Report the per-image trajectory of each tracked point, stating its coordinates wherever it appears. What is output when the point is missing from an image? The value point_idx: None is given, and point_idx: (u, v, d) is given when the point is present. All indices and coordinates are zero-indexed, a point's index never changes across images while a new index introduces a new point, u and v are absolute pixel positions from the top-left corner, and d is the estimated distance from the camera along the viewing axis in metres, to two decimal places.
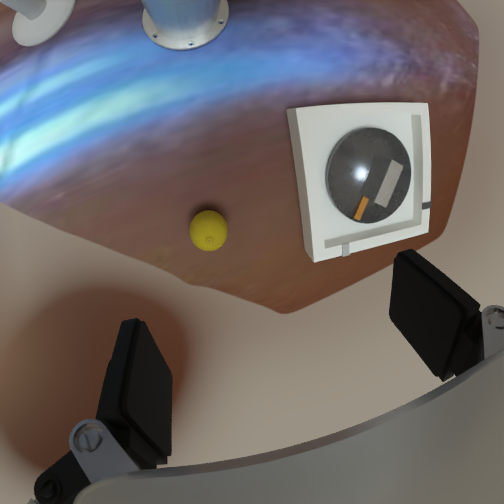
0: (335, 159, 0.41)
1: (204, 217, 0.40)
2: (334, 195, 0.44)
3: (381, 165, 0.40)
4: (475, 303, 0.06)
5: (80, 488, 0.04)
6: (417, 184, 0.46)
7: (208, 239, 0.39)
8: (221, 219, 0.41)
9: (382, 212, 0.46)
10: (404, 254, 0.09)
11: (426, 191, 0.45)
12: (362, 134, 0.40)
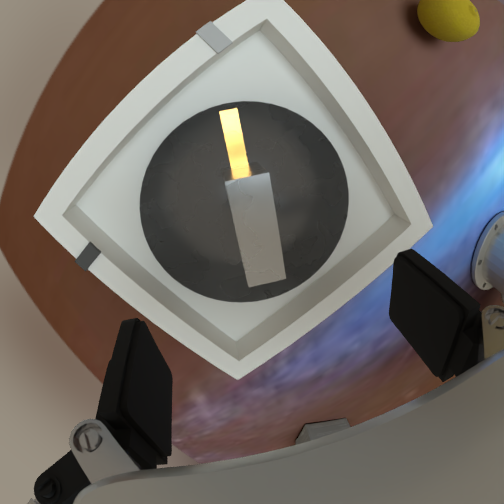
0: (343, 190, 0.22)
1: (471, 36, 0.15)
2: (309, 128, 0.20)
3: None
4: (475, 303, 0.06)
5: (80, 488, 0.04)
6: (133, 268, 0.23)
7: (477, 12, 0.12)
8: (452, 34, 0.15)
9: (170, 163, 0.19)
10: (404, 254, 0.09)
11: (113, 277, 0.21)
12: (318, 259, 0.24)
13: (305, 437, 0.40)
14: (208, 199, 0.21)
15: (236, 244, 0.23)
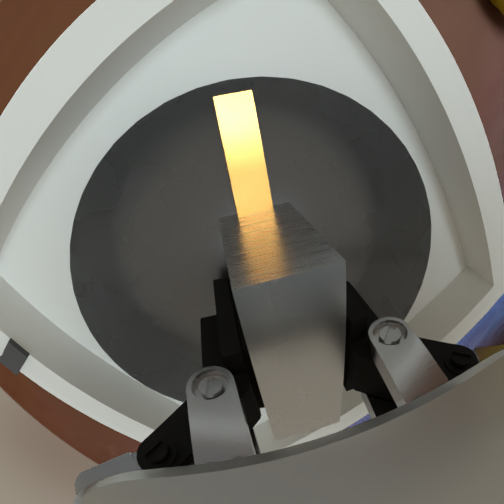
0: (424, 246, 0.12)
1: None
2: (386, 138, 0.10)
3: None
4: (362, 313, 0.07)
5: None
6: (85, 366, 0.13)
7: None
8: None
9: (115, 208, 0.09)
10: None
11: (56, 385, 0.11)
12: None
13: None
14: (195, 276, 0.11)
15: None
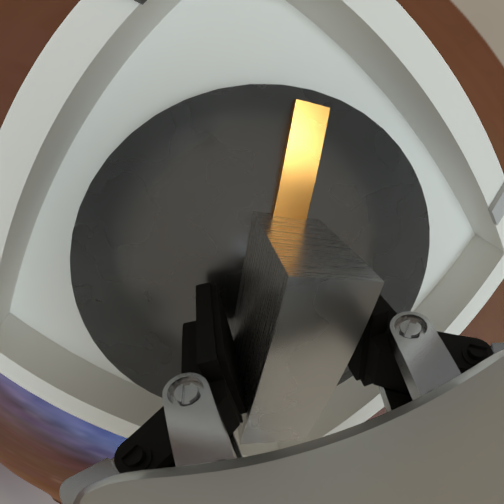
0: (410, 299, 0.13)
1: None
2: (415, 194, 0.11)
3: None
4: (383, 308, 0.07)
5: None
6: (94, 86, 0.08)
7: None
8: None
9: (157, 163, 0.09)
10: None
11: (76, 43, 0.06)
12: None
13: None
14: (207, 259, 0.11)
15: None
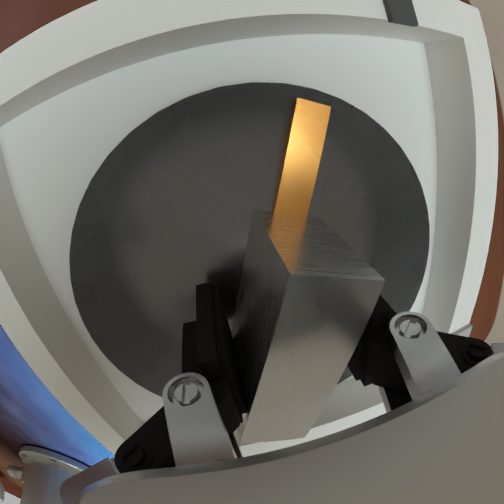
0: (410, 299, 0.13)
1: None
2: (415, 193, 0.11)
3: None
4: (383, 308, 0.07)
5: None
6: (293, 27, 0.08)
7: None
8: None
9: (157, 161, 0.09)
10: None
11: None
12: None
13: None
14: (207, 258, 0.11)
15: None
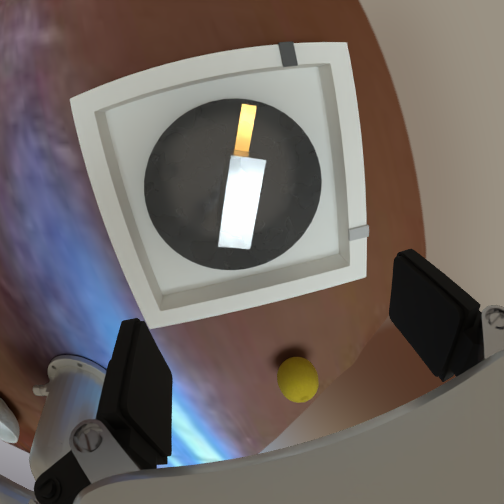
0: (315, 199, 0.27)
1: (282, 392, 0.36)
2: (305, 141, 0.24)
3: None
4: (475, 303, 0.06)
5: (80, 488, 0.04)
6: (244, 73, 0.22)
7: (303, 401, 0.34)
8: (287, 377, 0.36)
9: (188, 129, 0.23)
10: (404, 254, 0.09)
11: (256, 58, 0.20)
12: (277, 249, 0.29)
13: None
14: (207, 169, 0.24)
15: (215, 213, 0.26)
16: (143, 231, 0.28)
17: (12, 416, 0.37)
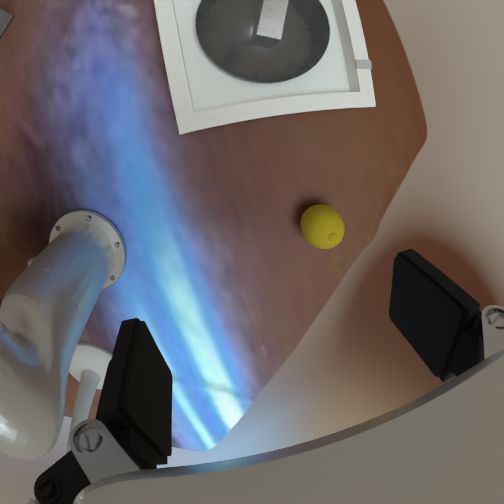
0: (326, 37, 0.28)
1: (308, 235, 0.37)
2: None
3: None
4: (475, 303, 0.06)
5: (80, 488, 0.04)
6: None
7: (331, 239, 0.35)
8: (312, 215, 0.36)
9: None
10: (404, 254, 0.09)
11: None
12: (298, 69, 0.29)
13: (4, 11, 0.17)
14: (245, 7, 0.25)
15: (250, 36, 0.27)
16: (186, 54, 0.28)
17: None
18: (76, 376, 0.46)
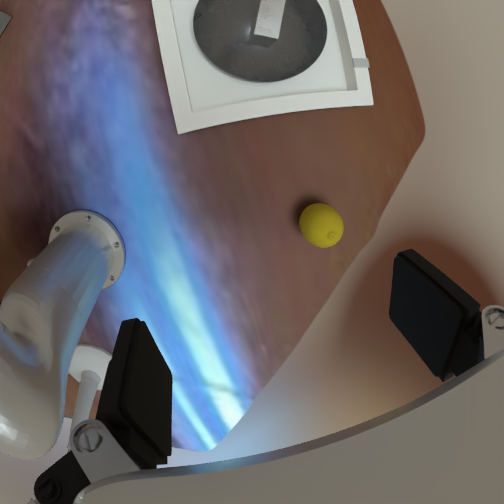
0: (323, 36, 0.28)
1: (306, 233, 0.37)
2: None
3: None
4: (475, 303, 0.06)
5: (80, 488, 0.04)
6: None
7: (330, 237, 0.35)
8: (311, 214, 0.36)
9: None
10: (404, 254, 0.09)
11: None
12: (296, 68, 0.29)
13: (2, 12, 0.17)
14: (243, 7, 0.25)
15: (247, 35, 0.27)
16: (184, 54, 0.28)
17: None
18: (76, 377, 0.46)
